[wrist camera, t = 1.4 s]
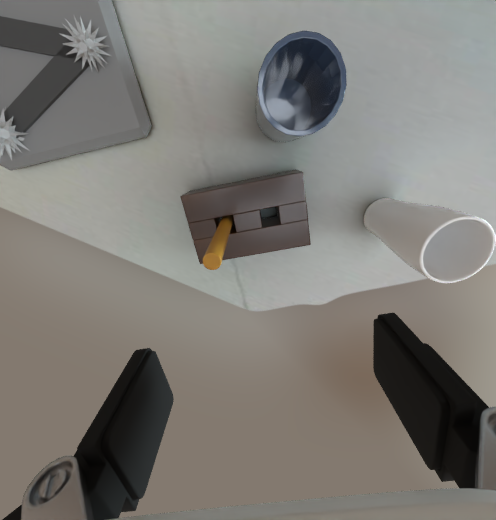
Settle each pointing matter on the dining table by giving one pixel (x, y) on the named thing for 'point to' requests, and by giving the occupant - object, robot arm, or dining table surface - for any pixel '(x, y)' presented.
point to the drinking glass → (432, 238)
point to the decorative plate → (64, 81)
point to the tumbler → (299, 86)
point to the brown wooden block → (250, 214)
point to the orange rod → (218, 244)
